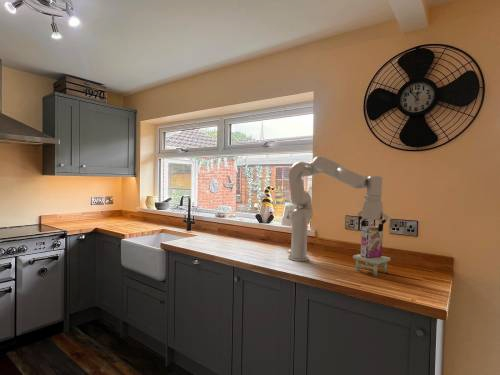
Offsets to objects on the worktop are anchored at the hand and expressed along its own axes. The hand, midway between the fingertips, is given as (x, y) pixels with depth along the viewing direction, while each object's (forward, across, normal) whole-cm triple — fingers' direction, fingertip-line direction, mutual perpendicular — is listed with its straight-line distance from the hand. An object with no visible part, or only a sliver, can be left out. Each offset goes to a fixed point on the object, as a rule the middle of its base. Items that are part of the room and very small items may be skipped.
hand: (371, 229), depth 162 cm
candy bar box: (+15, +1, 0) cm, 15 cm away
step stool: (+23, +1, 0) cm, 23 cm away
